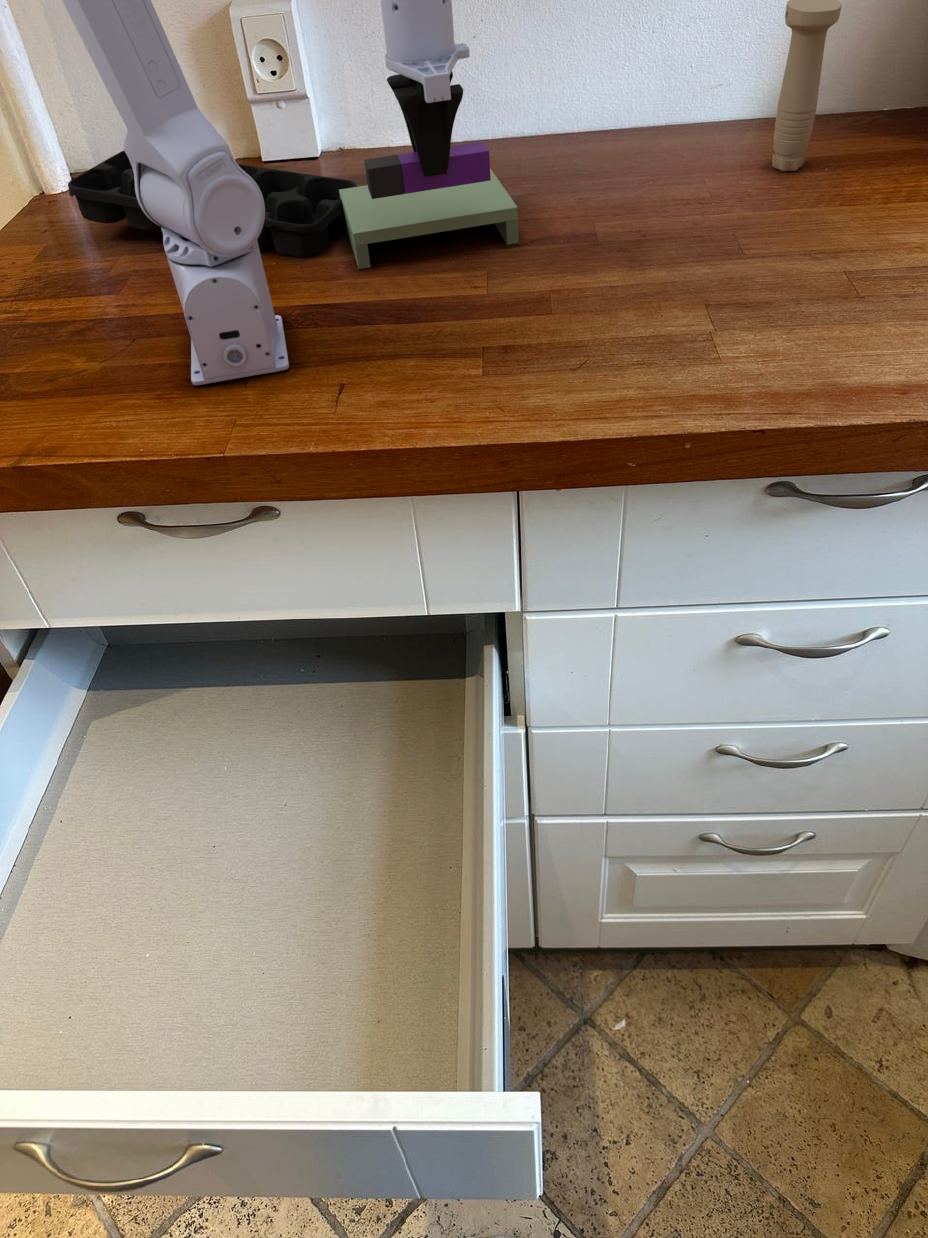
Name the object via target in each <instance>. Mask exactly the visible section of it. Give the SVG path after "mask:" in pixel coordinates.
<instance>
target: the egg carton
mask: <svg viewBox="0 0 928 1238" xmlns="http://www.w3.org/2000/svg"><path fill="white" fill-rule="evenodd" d="M237 164H238V165H239V167H240V168H241V169H242V170H243V171H245V172H246V173H247V174H248V175H249V176H250V177H252V179H253V180H254V181H255V182H256V183H257V185H258V187H259V189H260V191H261V193H262V196H263V200H264V205H265V219H264V225H263V228H262V231H261V233H260V235H259V237H258V239H257V241H258V246H259V249H264V248H266V247H268V246H270V245H272V244H273V246H274V250H275V252H276V253H278V254H281V255H285V256H290V257H296V258H306V257H313V256H315V255H317V254H320V253H321V252H322V251H323V250H324V249H325V248H326V246H327V245H328V244H329V241H330V238H329V237H330V235H329V233H330V232H331V233H335V232H336V233H337V232H340V231H342V230H344V229H345V228H346V227H345V221H344V214H343V213H344V210H343V205H342V200H341V199H340V194H339V190H340V189H347V188H353V187H358V185H357V183H356V182H355V181H352V180H349V179H343V178H335V177H330V176H322V175H316V174H309V173H304V172H297V171H296V172H295V171H289V170H283V169H276V168H275V169H274V168H269V167H262V166H255V165H248V164H243V163H242V164H241V163H237ZM67 188H68V193H69V194H68V195H69V197H71V198H74V197H75V199H76V201H77V207H78V209H79V211H80V215H81V216H82V218H83V219H85V220H88V221H89V222H90V221H91V222H94V223H101V224H115V223H118V222H121V221H124V220H125V219H126V220H127V223H128V225H129V226H130V227H131V228H133V229H138V230H142V231H162V229H161V226H159V225H157V224H155V223H154V222H152V221H151V220H150V219H149V218H148V217H147V216H146V215H145V213H144V212H143V211H142V209H141V207H140V205H139V203H138V200H137V197H136V192H135V181H134V172H133V168H132V165H131V163H130V161H129V158H128V156H127V155H126V153H125V151H124V150H122V151H120V152H117V153H116V154H114V155H112V156H110V157H109V158H107V159H104V160H103V161H102V162H100V163H98V164H97V165H95V166H93V167H90V168H89V169H87V170H85V171H84V172H83V173H81V174H79V175H78V176H76V177H74V178H72V179H71V180H70V181H68V182H67Z"/></svg>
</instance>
